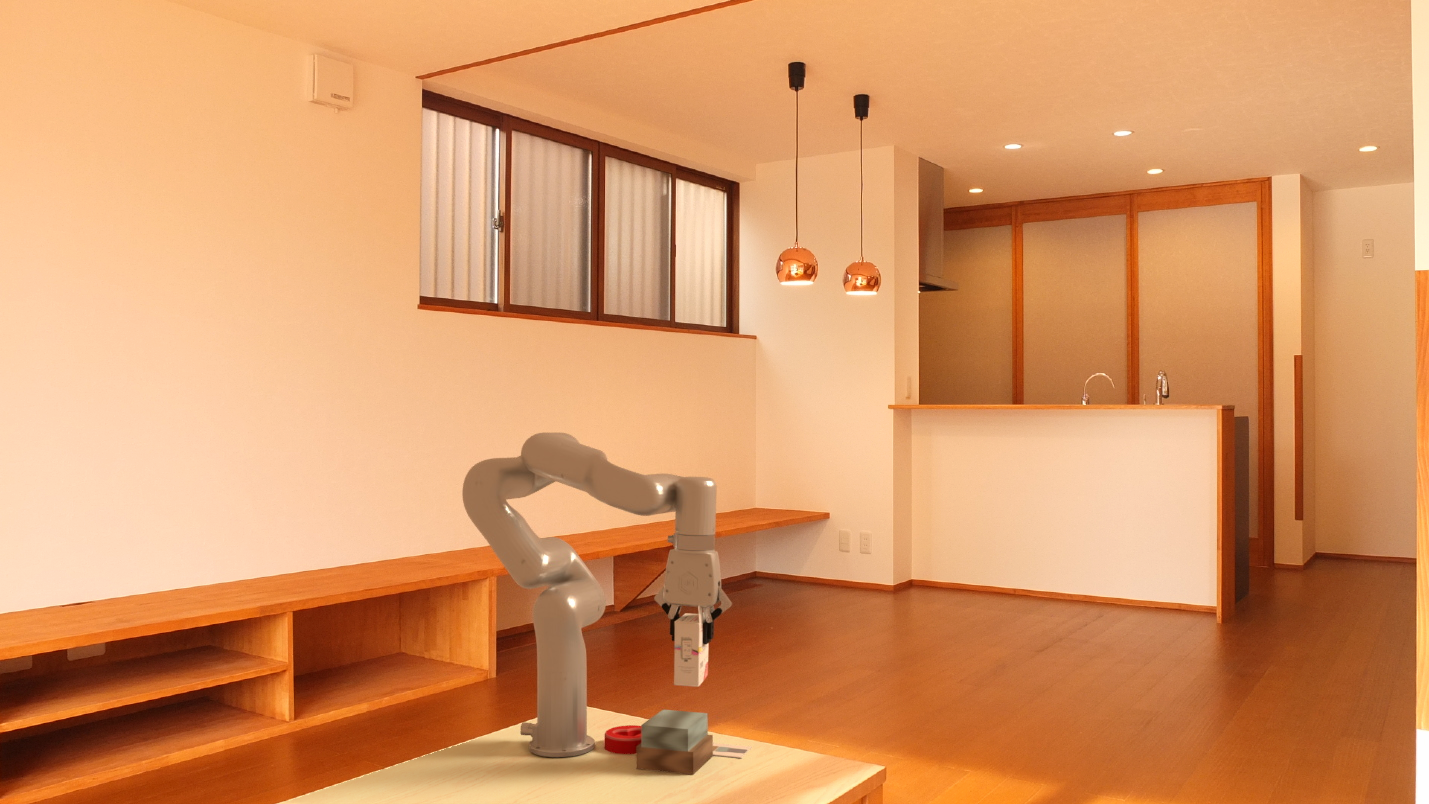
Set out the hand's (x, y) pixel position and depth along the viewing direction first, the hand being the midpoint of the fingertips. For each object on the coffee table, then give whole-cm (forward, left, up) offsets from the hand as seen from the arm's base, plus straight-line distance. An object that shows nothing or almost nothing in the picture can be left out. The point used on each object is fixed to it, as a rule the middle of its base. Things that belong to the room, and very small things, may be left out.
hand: (691, 640), depth 192 cm
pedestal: (-3, 0, -23) cm, 23 cm away
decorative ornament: (-15, +6, -23) cm, 28 cm away
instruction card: (+3, +9, -23) cm, 25 cm away
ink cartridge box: (0, 0, -8) cm, 8 cm away
